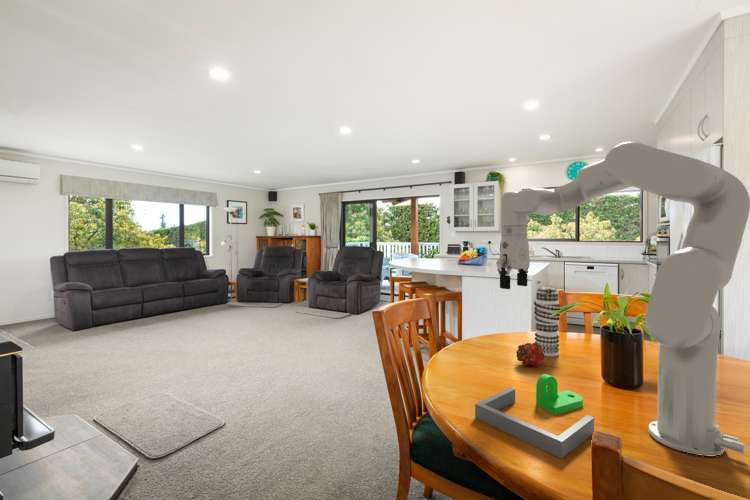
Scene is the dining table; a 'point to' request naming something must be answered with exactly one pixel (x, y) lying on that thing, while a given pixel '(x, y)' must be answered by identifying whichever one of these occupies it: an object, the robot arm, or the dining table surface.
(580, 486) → the dining table surface
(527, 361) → the dragon fruit
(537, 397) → the mechanical part
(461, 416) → the dining table surface
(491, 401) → the u-shaped bracket
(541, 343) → the decorative candle
